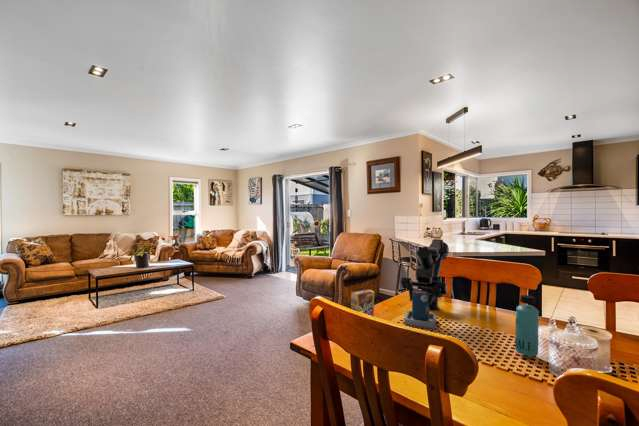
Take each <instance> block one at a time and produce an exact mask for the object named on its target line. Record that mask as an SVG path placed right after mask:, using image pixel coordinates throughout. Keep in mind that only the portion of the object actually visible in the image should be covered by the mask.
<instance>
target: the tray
mask: <svg viewBox="0 0 639 426" xmlns="http://www.w3.org/2000/svg"><path fill="white" fill-rule="evenodd" d="M436 315H437V314H436V313H431V312H429V320H428V321H421V320H414V319H413V317H412V310H408V309H407V310H406V314H405V316H404V320H403V321H404V324H403V325H404V326H408V327H415V328H422V329H428V330H434V331H435V330H436V326H437V325H436V321H437V320H436Z"/></svg>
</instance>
